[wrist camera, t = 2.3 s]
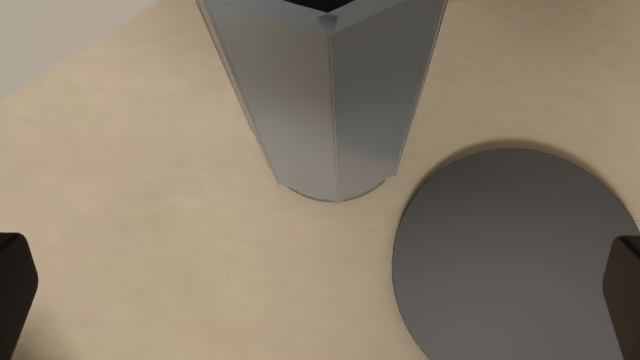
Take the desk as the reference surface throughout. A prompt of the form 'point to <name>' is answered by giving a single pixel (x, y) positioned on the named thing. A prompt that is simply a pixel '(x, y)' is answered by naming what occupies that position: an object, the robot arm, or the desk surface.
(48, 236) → the desk surface
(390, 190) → the desk surface
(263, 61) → the pen cup
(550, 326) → the coaster
